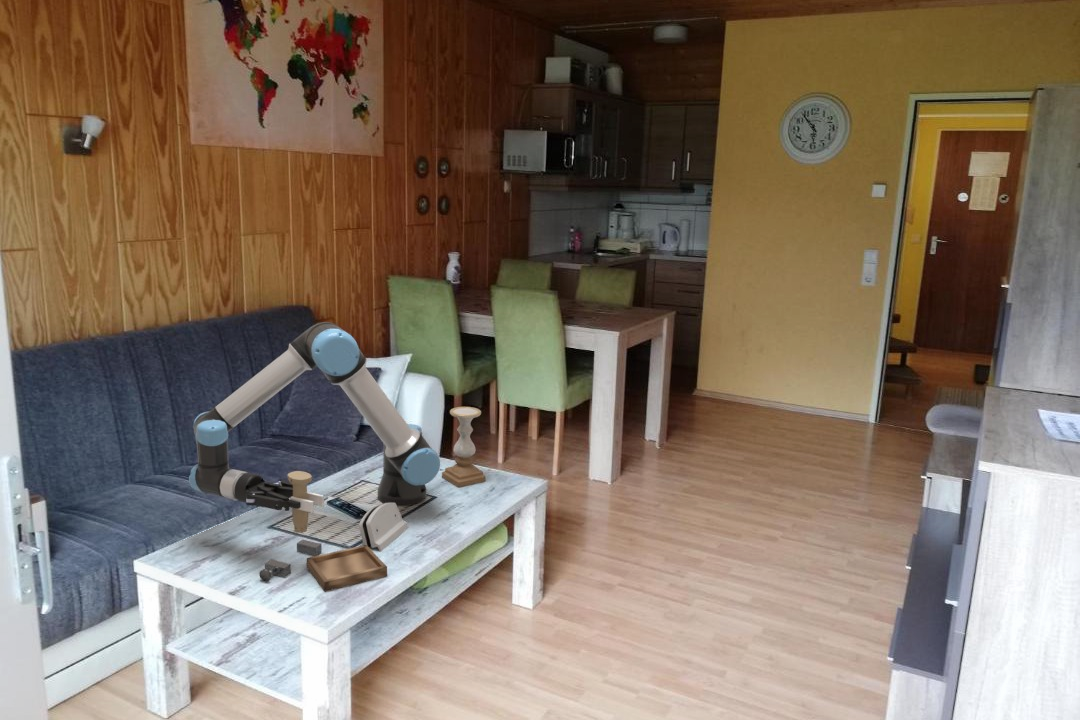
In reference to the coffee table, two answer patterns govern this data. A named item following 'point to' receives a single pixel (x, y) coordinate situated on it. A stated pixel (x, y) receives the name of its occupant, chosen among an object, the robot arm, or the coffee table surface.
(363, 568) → the tray
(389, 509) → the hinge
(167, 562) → the coffee table surface
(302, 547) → the block
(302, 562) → the coffee table surface
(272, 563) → the vise jaw outer
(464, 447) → the candle holder
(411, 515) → the coffee table surface
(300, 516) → the handle
